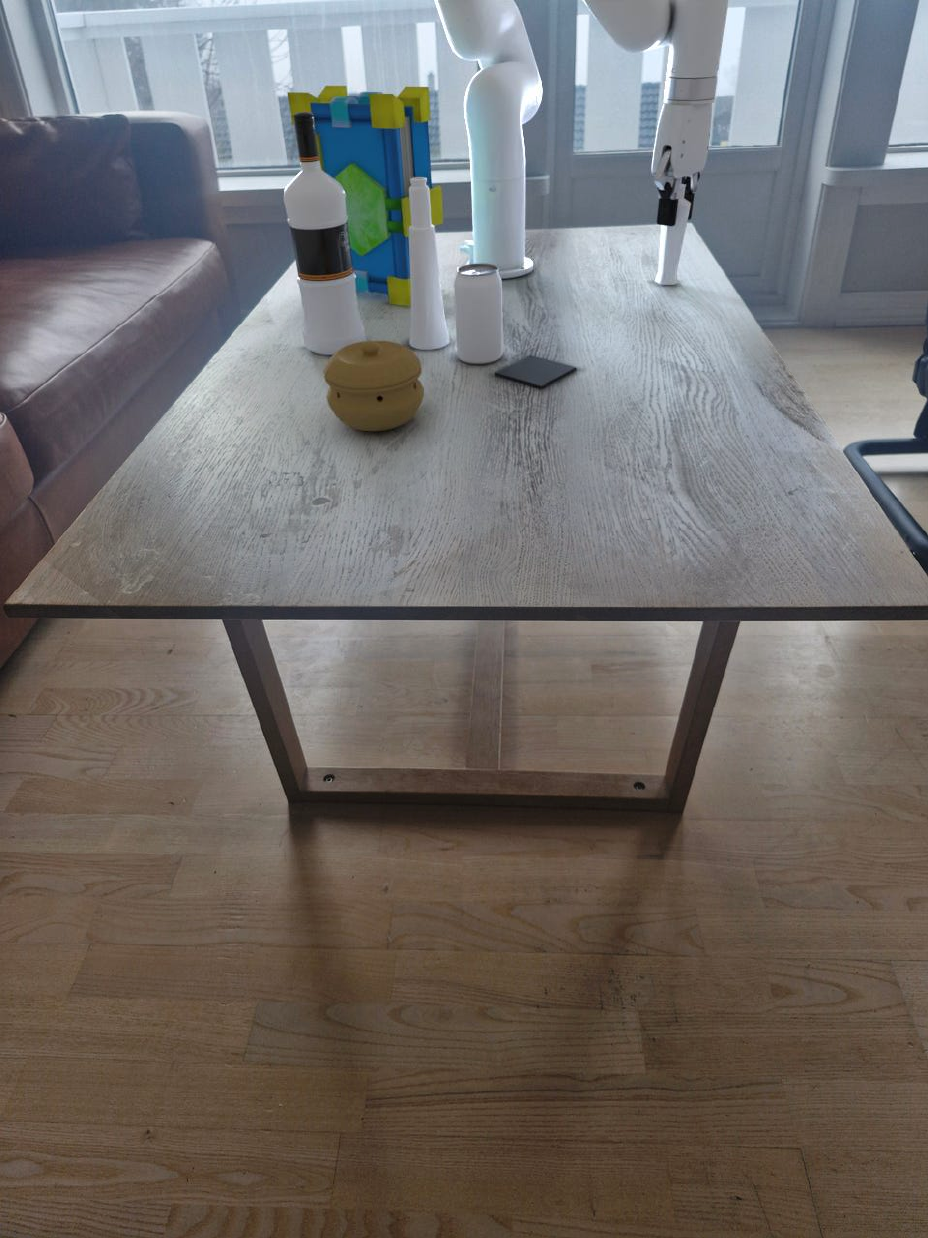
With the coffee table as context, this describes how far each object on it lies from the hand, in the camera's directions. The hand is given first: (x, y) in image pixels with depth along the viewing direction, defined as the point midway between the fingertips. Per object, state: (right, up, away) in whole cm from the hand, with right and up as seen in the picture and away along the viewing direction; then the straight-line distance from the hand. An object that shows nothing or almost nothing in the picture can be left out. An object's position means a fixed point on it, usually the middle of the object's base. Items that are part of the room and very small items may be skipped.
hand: (674, 220), depth 132 cm
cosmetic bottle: (-40, -25, -13) cm, 49 cm away
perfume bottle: (0, -8, +6) cm, 10 cm away
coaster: (-25, -33, -23) cm, 47 cm away
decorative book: (-50, -8, +9) cm, 52 cm away
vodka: (-54, -25, -12) cm, 61 cm away
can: (-33, -29, -18) cm, 47 cm away
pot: (-45, -42, -34) cm, 71 cm away
